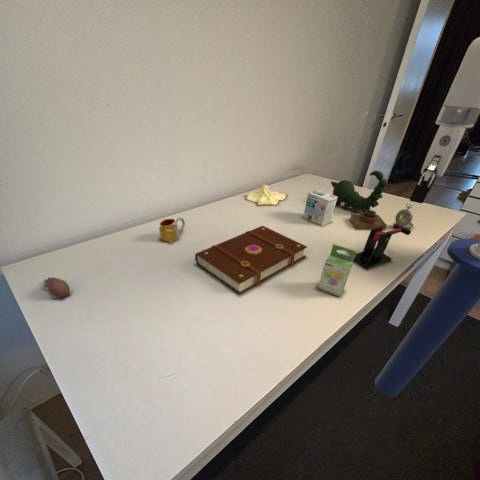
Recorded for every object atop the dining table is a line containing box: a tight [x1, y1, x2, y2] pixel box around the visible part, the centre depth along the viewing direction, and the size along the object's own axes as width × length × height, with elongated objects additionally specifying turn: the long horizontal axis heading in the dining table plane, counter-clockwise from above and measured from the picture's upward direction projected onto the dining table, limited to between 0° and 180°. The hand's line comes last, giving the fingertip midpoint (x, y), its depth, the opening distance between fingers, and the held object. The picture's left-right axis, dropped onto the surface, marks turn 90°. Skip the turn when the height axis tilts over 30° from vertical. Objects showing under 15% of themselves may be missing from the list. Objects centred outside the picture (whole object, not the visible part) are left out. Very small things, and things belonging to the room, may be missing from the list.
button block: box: [349, 212, 387, 231], centre depth 112 cm, size 12×10×4 cm
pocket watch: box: [394, 203, 415, 230], centre depth 109 cm, size 8×8×10 cm
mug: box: [158, 217, 186, 244], centre depth 100 cm, size 12×7×7 cm, turn 144°
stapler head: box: [373, 223, 412, 242], centre depth 88 cm, size 13×6×2 cm, turn 118°
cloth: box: [245, 184, 287, 206], centre depth 131 cm, size 22×19×6 cm
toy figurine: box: [330, 170, 389, 214], centre depth 119 cm, size 9×19×25 cm
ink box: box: [317, 244, 358, 297], centre depth 75 cm, size 7×4×13 cm, turn 56°
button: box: [365, 209, 377, 218], centre depth 110 cm, size 4×4×2 cm
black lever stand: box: [353, 227, 394, 271], centre depth 89 cm, size 12×8×11 cm, turn 118°
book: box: [194, 225, 308, 295], centre depth 89 cm, size 23×32×5 cm
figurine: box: [40, 276, 71, 299], centre depth 76 cm, size 6×5×12 cm
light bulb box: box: [303, 189, 338, 227], centre depth 112 cm, size 11×7×11 cm, turn 40°
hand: (419, 196), depth 71 cm, fingers open, 9 cm apart
